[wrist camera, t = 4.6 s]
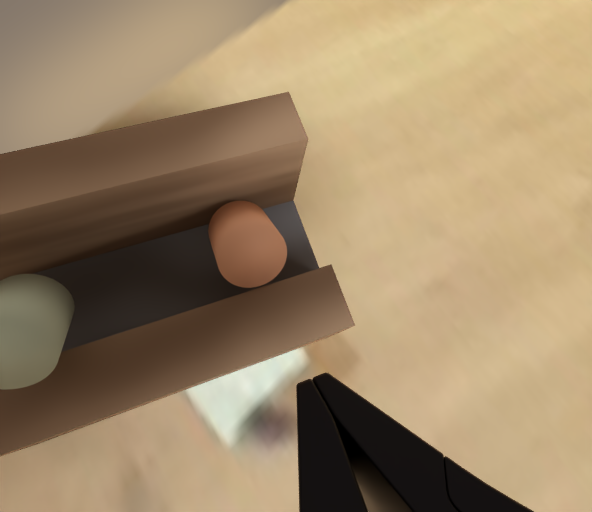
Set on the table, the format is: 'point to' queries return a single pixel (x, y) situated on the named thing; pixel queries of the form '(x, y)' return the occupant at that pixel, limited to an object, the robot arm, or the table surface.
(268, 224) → the terracotta button
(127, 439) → the table surface
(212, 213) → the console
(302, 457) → the robot arm
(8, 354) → the sage button
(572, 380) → the table surface
